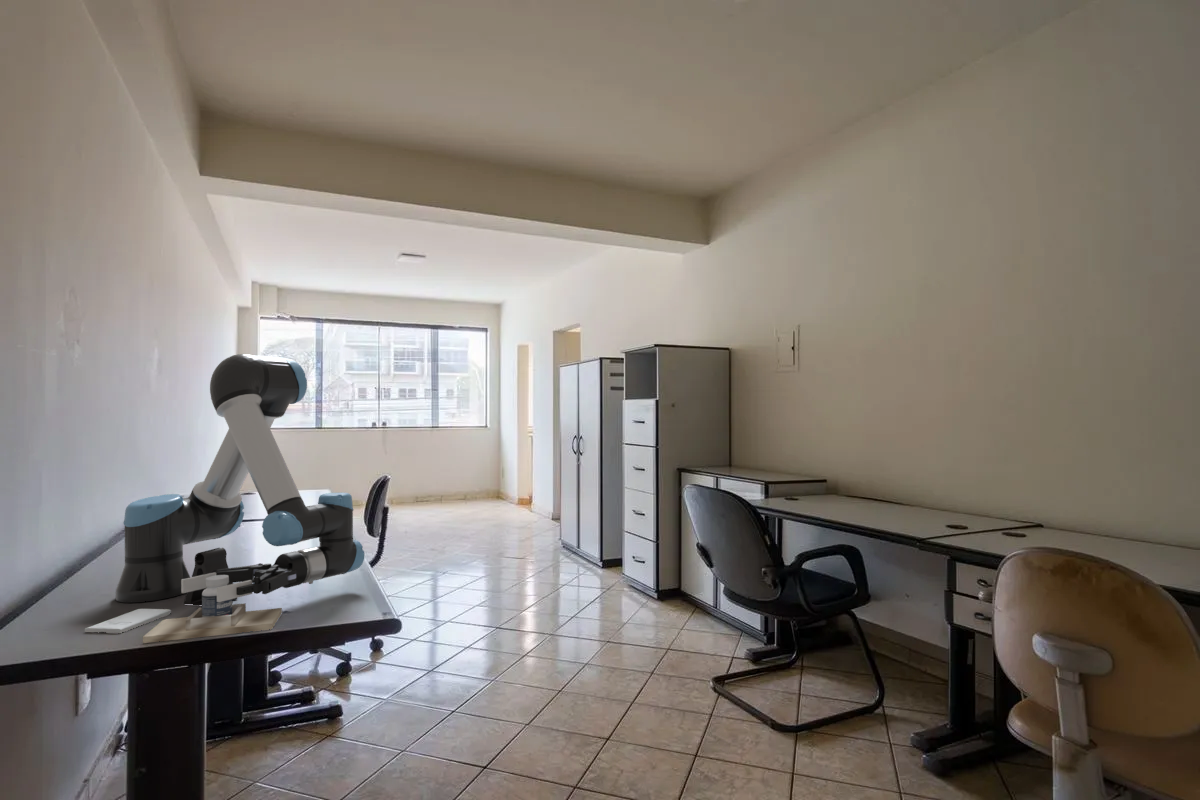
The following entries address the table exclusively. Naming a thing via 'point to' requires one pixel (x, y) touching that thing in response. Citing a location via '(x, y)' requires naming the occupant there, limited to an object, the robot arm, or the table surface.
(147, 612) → the external hard drive
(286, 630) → the table surface
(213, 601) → the pill bottle
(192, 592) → the phone stand
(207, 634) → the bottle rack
